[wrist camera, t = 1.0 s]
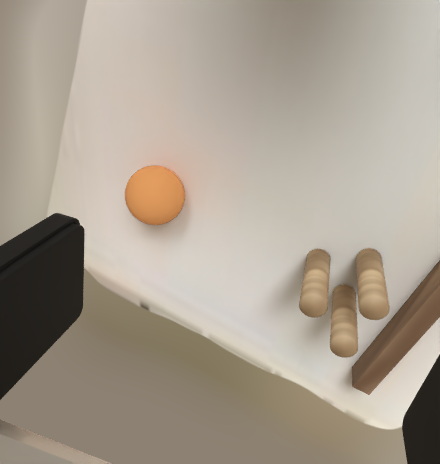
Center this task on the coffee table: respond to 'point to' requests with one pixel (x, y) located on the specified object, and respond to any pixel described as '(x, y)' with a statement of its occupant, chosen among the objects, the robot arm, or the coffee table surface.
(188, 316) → the coffee table surface
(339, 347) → the pin
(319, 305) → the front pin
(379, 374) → the stopper wall
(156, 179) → the ball
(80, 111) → the coffee table surface
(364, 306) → the pin
